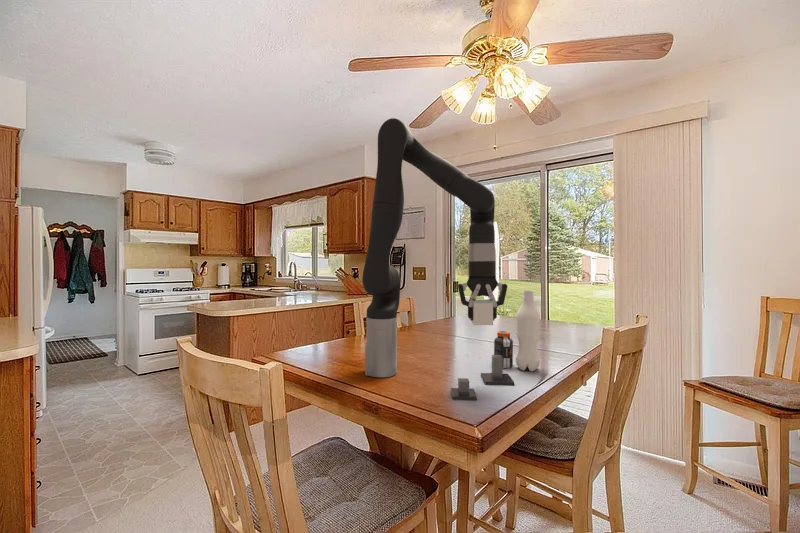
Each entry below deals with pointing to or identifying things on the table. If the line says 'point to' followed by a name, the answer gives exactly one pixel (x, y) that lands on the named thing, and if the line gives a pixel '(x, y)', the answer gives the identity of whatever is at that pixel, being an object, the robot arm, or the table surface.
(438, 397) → the table surface
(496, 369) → the tall post
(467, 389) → the short post
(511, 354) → the pill bottle
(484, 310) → the cream upright block
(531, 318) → the water bottle
